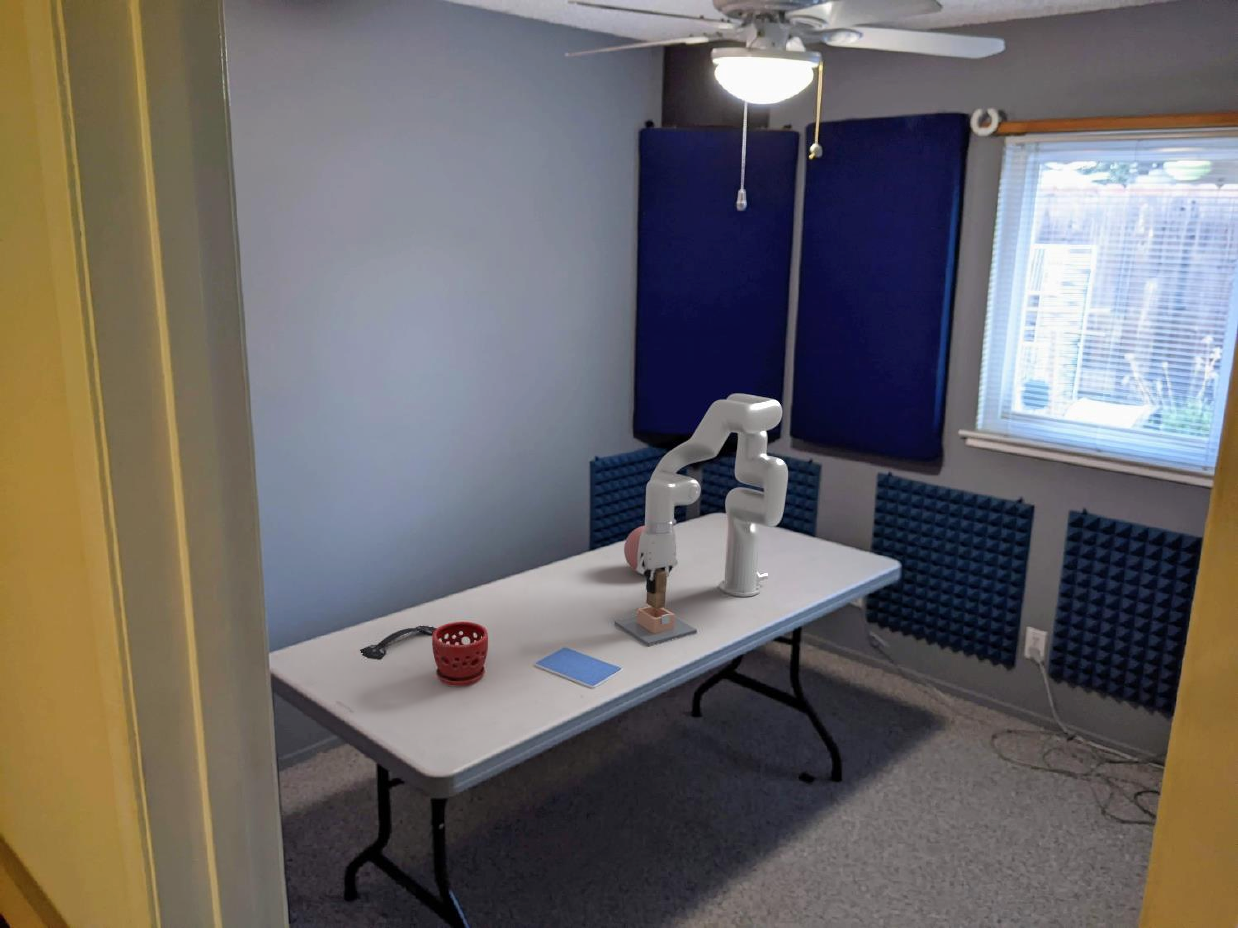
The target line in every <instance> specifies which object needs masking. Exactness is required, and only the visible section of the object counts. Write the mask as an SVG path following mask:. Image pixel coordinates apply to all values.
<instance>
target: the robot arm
mask: <svg viewBox="0 0 1238 928" xmlns="http://www.w3.org/2000/svg"><path fill="white" fill-rule="evenodd" d="M782 416H783V408H782V405H781V404H780V402H779V401H778V400H776V399H774V398H769V397H763V396H758V395H752V394H746V393H731V394H730V395H728V397H727V398H726V399H718V400H716V401H714V402H713V403H712V404H711V405H710V407H709V408H708V410H707V411H706V413H705V414H704V416H703V418H702V420H701V422H700V423H699V424H698V426H697V428H696V429H695V431H694V433H693V434H692V436H691V437H690V438H689V439H688V440H686V441H684V442H683V443H681V444H679V445H677V446H676V447H674V448H673V449H672V450H671V449H670V450H669V451H668V452H667V453H666V454H665V455H664V456H662V458H661V459H660V461H659V462H658V464H657V465H656V467H655V469H654V471H653V472H652V474H651V476H650V480H649V481H648V482H647V484H646V486H645V487H646V489H645V491H646V492H645V514H644V515H645V517H644V526H645V530H643V531H642V533H641V536H640V541H639V547H638V557H637V564H638V566H637V568H636V571H635V572H637V573H639V574H641V575H643V577H644V578H645V579H646V581H645V582H646V583H645V590H646V592H647V591H648V592H649V593H651V594H655V580H654V574H655V569H657V568H660V569H662V570H664V571H666V572H667V576H666V586H667V583H668V582H667V580H668V577H669V576H670V573H671V571H673V568H675V567H676V566H677V565H679V563H678V562H679V561H678V559H677V539H676V532H675V529H674V525H675V524H677V520H676V519H675V515H674V514H675V507H677V506H688V505H692V504H693V503H695V502H696V501H697V500H698V499H699V497H700V496H701V485H700V483H699V482H698V481H697V480H696V479H695V478H692V477H691V476H687V475H683V474H678V473H677V472H678V471H680V469H682V468H684V467H685V466H688V465H690V464H694V463H697V462H698V463H699V462H702V461H703V462H704V461H707V460H710V459H713V458H715V457H717V455H718V454H719V453H720V451H721V449H722V448H723V446H724V444H725V442H726V441H727V440H728V437H729V436H730V434H731V433H737V449H736V453H735V454H736V455H735V456H736V457H735V463H734V464H735V465H734V476H735V479H736V480H737V481H738V482H739V483H742V484H745V485H750V486H752V487H757V488H761V489H763V491H760V490H757V489H752V488H747V487H735V488H733V489H731V490H730V491H729V492H728V493H727V495H726V498H725V502H724V504H725V514H726V523H727V526H726V527H727V528H726V529H727V530H726V548H725V549H726V550H725V562H724V563H725V565H724V580H721V581H720V582H719V584H718V589H719V590H720V591H721V592H722V593H724V594H727V595H729V596H734V597H743V598H745V597H752V596H756V595H758V594H759V593H761V592H762V586H761V585H760V582H761V581H764V580H767V579H768V578H769V575H768V572H767V573H766V572H763V573H759V572H758V558H759V543H760V532H759V528H758V526H757V525H759V526H761V527H762V526H763V527H769V528H772V527H773V528H774V527H776V526H777V525H778V524H780V522H781V521H782V518H783V514H784V510H785V503H786V496H787V488H788V481H789V470H788V465H787V464H786V462H785V461H784V460H783V459H781V458H779V457H775V456H770V455H768V453H767V450H768V449H767V447H768V432H767V431H770V430H773V428H775V427H777V426H778V425H779V423H780V422H781V420H782ZM644 566H645V570H644Z"/></svg>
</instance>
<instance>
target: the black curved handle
mask: <svg viewBox="0 0 1238 928" xmlns="http://www.w3.org/2000/svg"><path fill="white" fill-rule="evenodd" d="M429 626H430V625H423V626H421V625H418V626H416V627H410V628H409V627H408V628H404V629H400V630H397V631H396V632H393V633H391V634H389V635H388V636H386V637H385V638H384V639H382V640H381V641H380V642H378V643H377V644H370V645H369V646H366V647H363V648H361V649H359V652H360V651H361V652H360V654H361V653H363V654H362V655H361V656H362V657H364V658H366V657H367V658H366V659H370V660H377V661H381V660H382V659H383V658H384V657H385V656H386V654H387V651H386V647H388V646H391V645H392V644H395V643H398V642H400V641H402V640H405V639H406V637H407V636H408V638H409V637H412V636H414V635H417V634H419V633H421V634H423V635H425V636H429V637H432V636H433V633H434V631H435V630H436V629H437V628H438V627H435V628H434V626H432V627H429ZM418 631H419V632H418ZM415 632H417V633H415ZM414 633H415V634H414ZM409 635H410V636H409ZM405 636H406V637H405ZM404 637H405V638H404ZM400 638H402V639H400ZM397 639H399V640H397ZM395 640H397V641H395ZM392 642H393V643H392Z"/></svg>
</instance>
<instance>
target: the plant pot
mask: <svg viewBox="0 0 1238 928" xmlns="http://www.w3.org/2000/svg"><path fill="white" fill-rule="evenodd" d="M436 628H437V629H436V630H435V631H434V633H433V635H432V636H431V640H432V642H431V644H432V653H433V658H434V663H435V664H436V667H437V668H436V670H435V671H436V672H435V674H436V677H437V679H438V680H439V681H441V682H442V683H443V684H446V685H449V686H452V687H453V686H454V687H464V686H465V687H466V686H469V685H473V684H476V683H478V682H479V681H480V680H482V679H483V677H484V676H485V673H486V669H485V668H486V667H485V666H484V665H485V662H486V659H487V655H488V650H489V632H488V629H487V628H486V627H485V626H483V625H481V624H479V623H477V622H472V621H455V622H448V623H445V624H443V625H440V626H439V627H436ZM460 632H462V634H460ZM474 634H476V636H474ZM446 635H448V637H447V638H445V637H446ZM454 636H455V638H453V637H454ZM463 638H468V639H469V643H467V644H464V643H463V641H462V640H463ZM448 642H449V643H448ZM456 643H458V644H456Z"/></svg>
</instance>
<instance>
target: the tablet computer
mask: <svg viewBox="0 0 1238 928" xmlns="http://www.w3.org/2000/svg"><path fill="white" fill-rule="evenodd" d="M533 664H534V665H533V666H534V667H535V668H539V669H541V670H545V671H546V672H549V673H552V674H554V675H557V676H559V677H562V678H564V679H566V680H570V681H572V682H575V683H577V684H579V685H582V686H584V687H586V686H587V687H586V688H588V687H589V689H591V688H592V689H594V688H595V689H597V688H598V687H600V686H602V685H603V684H605V683H606V682H605V681H607V682H609V681H610V680H612V679H613V678H615V677H617V676H619V675H620V674H621V673H620V672H622V671H623V672H624V669H623V667H620V666H617V665H615V664H613V663H610V662H606V661H604V660H600V659H598V658H596V657H592V656H590V655H587V654H585V653H582V652H580V651H577V650H574V649H572V648H569V647H566V646H565V647H562V648H559V649H558V650H556V651H554V652H553V653H551V654H548V655H547V656H545V657H542V658H541V659H540V660H537V661H536V662H534V663H533ZM623 672H622V673H623ZM619 673H620V674H619ZM618 674H619V675H618ZM616 675H617V676H616ZM614 676H615V677H614ZM612 677H613V678H612ZM611 678H612V679H611ZM609 679H610V680H609ZM604 682H605V683H604ZM601 684H602V685H601ZM596 687H597V688H596ZM592 689H591V690H592Z"/></svg>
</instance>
